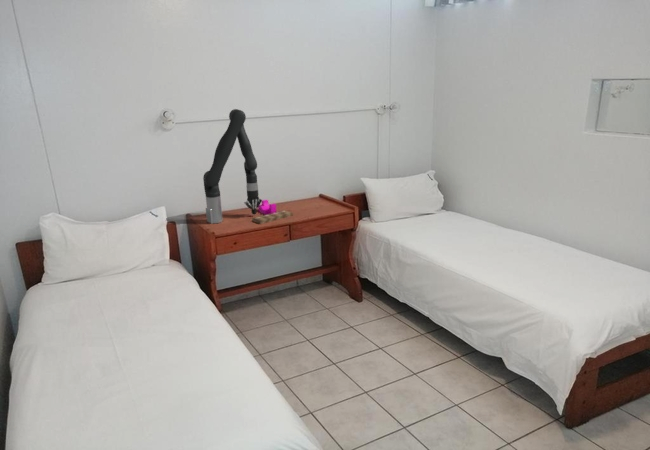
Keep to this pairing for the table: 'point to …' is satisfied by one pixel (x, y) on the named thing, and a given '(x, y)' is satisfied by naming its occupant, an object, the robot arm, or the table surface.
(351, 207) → the table surface
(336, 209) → the table surface
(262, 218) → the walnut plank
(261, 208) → the toy block
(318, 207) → the table surface
